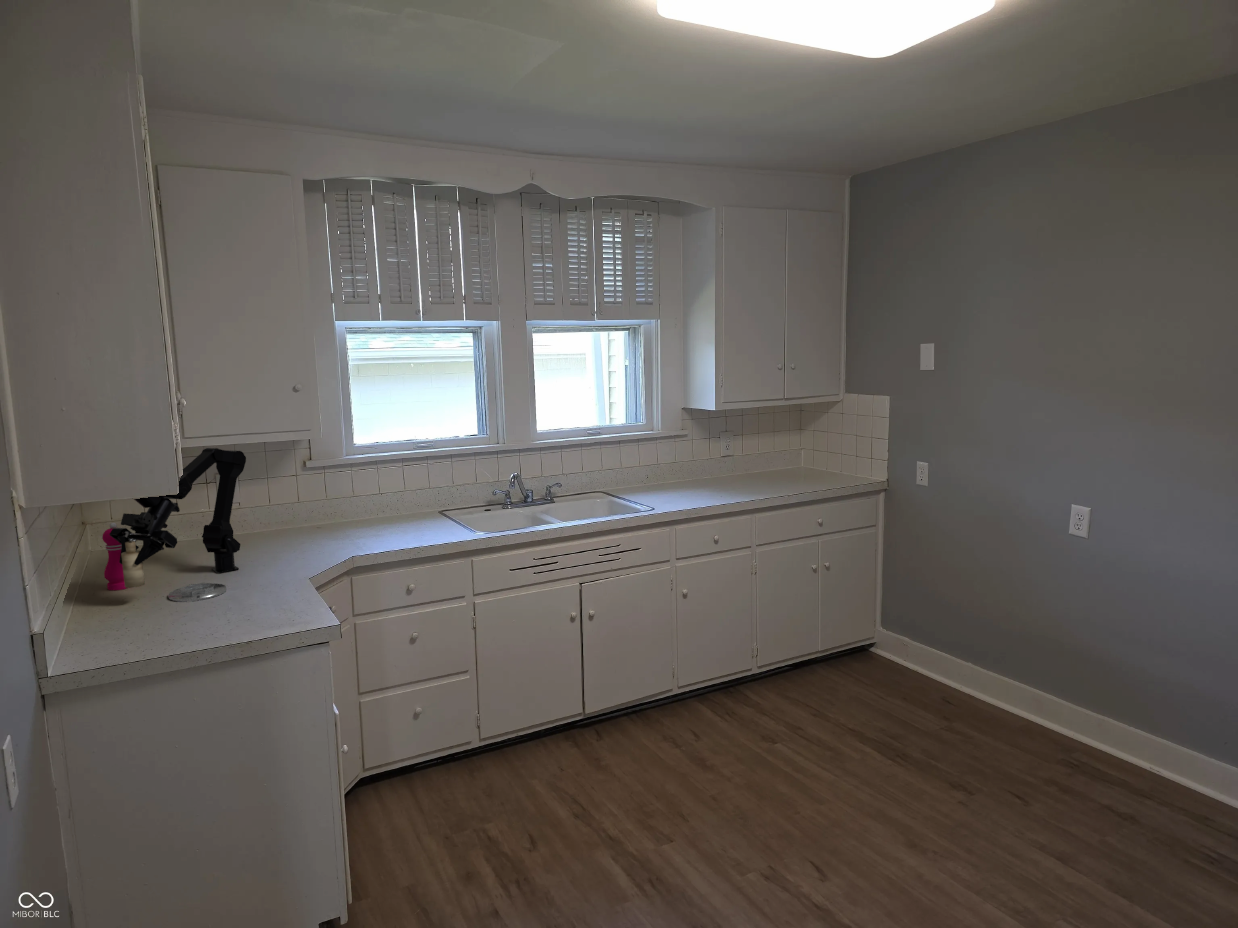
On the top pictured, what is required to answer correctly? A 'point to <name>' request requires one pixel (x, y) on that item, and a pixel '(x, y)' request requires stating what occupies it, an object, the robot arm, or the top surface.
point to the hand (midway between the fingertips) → (128, 563)
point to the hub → (197, 592)
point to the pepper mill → (113, 561)
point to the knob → (132, 566)
